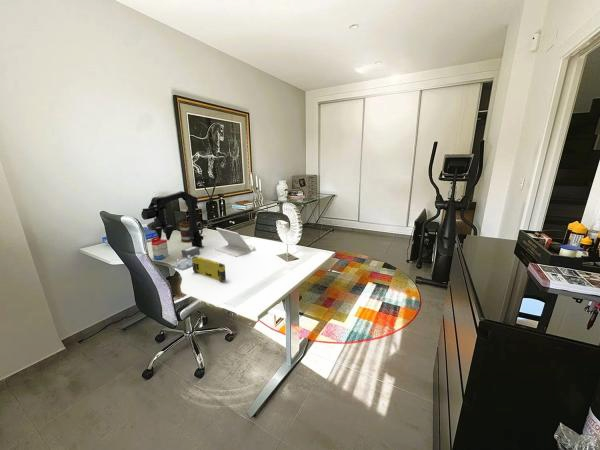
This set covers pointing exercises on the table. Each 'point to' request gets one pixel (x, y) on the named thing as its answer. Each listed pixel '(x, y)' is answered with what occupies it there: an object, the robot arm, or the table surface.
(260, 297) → the table surface
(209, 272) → the gaming console
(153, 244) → the ink box
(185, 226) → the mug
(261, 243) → the table surface
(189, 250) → the drive
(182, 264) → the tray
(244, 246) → the tablet stand
